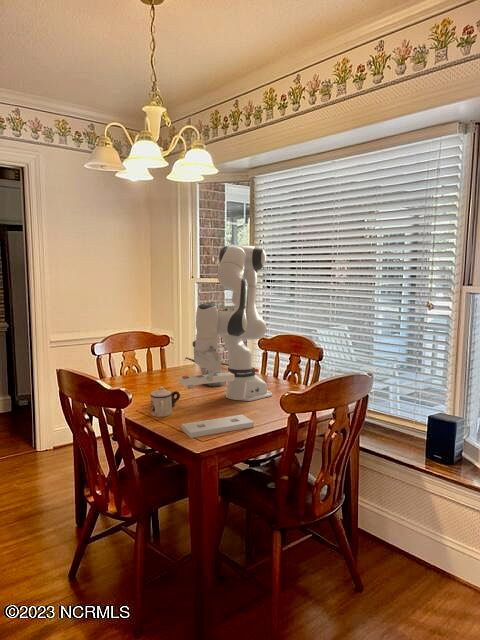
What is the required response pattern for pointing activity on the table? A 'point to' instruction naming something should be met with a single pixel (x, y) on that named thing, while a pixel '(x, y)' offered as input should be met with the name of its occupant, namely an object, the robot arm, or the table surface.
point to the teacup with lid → (161, 402)
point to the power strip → (202, 379)
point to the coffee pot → (207, 373)
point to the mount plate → (217, 425)
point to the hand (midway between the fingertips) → (207, 379)
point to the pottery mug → (174, 398)
